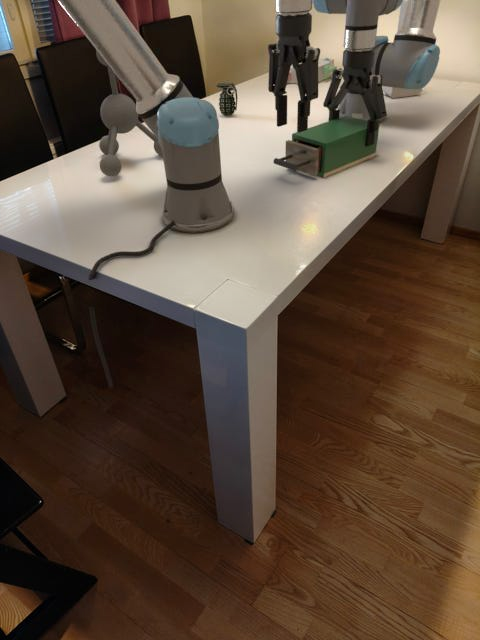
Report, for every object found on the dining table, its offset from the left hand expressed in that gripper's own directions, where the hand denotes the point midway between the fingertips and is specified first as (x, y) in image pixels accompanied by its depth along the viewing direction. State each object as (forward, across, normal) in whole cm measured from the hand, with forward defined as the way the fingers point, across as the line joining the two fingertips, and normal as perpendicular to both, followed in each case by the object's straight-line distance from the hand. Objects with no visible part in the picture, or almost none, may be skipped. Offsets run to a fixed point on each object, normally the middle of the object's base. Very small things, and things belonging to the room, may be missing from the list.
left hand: (291, 127), depth 115 cm
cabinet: (+12, 0, -16) cm, 20 cm away
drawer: (+11, 0, -10) cm, 15 cm away
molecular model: (+12, +40, +21) cm, 47 cm away
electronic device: (+12, +26, -84) cm, 89 cm away
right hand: (+8, 0, -23) cm, 24 cm away
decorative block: (+12, +72, -82) cm, 109 cm away
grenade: (+12, +56, -25) cm, 62 cm away
